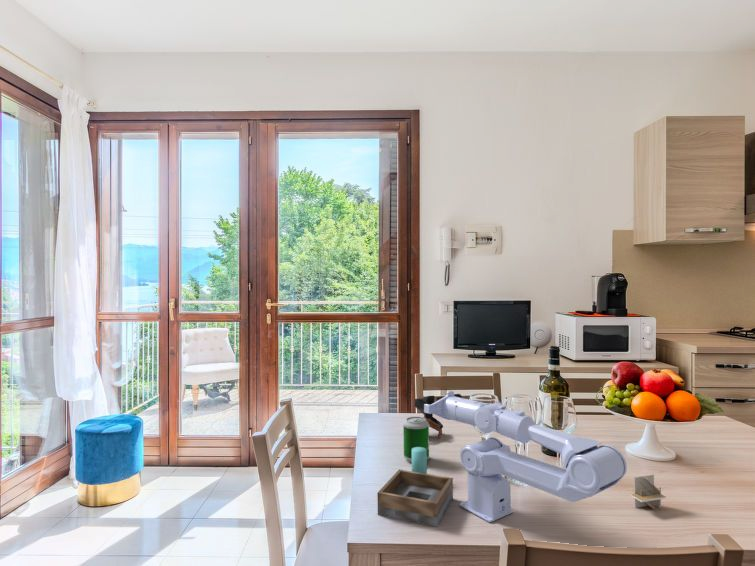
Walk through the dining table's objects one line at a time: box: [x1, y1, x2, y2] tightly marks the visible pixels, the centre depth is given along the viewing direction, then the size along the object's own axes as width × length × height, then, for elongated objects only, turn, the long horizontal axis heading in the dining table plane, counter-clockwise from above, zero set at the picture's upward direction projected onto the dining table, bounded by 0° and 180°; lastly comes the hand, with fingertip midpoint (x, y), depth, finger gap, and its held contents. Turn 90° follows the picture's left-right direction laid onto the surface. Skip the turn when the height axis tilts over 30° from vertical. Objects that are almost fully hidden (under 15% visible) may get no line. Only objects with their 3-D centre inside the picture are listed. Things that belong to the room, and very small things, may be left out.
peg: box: [411, 447, 428, 474], centre depth 125 cm, size 4×4×8 cm
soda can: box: [402, 416, 430, 464], centre depth 138 cm, size 8×8×12 cm
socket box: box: [376, 469, 454, 528], centre depth 110 cm, size 14×14×5 cm
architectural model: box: [630, 474, 667, 509], centre depth 107 cm, size 3×7×7 cm, turn 105°
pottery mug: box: [422, 415, 444, 440], centre depth 157 cm, size 12×10×8 cm
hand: (426, 401), depth 125 cm, fingers open, 7 cm apart
